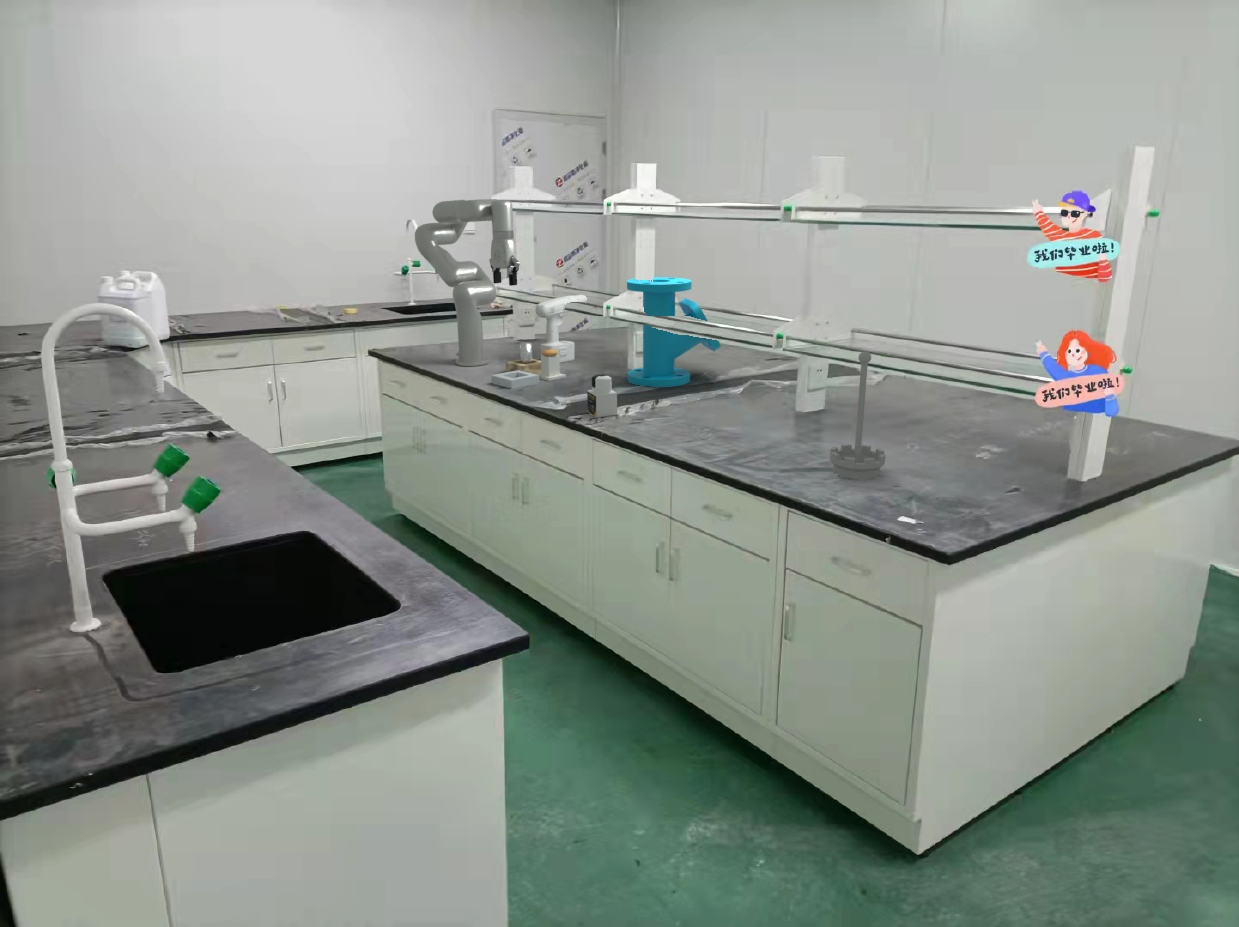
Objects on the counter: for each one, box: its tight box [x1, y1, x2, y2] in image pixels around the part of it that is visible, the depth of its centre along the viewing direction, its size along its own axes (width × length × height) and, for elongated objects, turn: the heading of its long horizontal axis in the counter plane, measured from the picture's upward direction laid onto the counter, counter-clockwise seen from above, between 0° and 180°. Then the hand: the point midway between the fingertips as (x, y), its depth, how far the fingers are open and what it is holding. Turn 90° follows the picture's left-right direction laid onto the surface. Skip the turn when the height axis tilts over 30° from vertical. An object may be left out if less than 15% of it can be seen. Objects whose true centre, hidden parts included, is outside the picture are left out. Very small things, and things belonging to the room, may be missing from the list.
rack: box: [505, 358, 541, 375], centre depth 333 cm, size 11×11×4 cm
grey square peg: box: [519, 341, 533, 364], centre depth 332 cm, size 4×4×11 cm
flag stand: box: [829, 350, 886, 481], centre depth 214 cm, size 13×13×30 cm
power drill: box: [535, 294, 588, 364], centre depth 352 cm, size 8×24×25 cm, turn 132°
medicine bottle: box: [586, 374, 618, 418], centre depth 273 cm, size 7×7×12 cm
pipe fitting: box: [626, 276, 722, 388], centre depth 315 cm, size 22×32×35 cm
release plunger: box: [542, 349, 558, 357], centre depth 323 cm, size 6×6×8 cm
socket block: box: [491, 370, 540, 390], centre depth 315 cm, size 12×12×3 cm
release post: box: [537, 355, 567, 382], centre depth 324 cm, size 8×8×8 cm
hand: (505, 284), depth 326 cm, fingers open, 9 cm apart
